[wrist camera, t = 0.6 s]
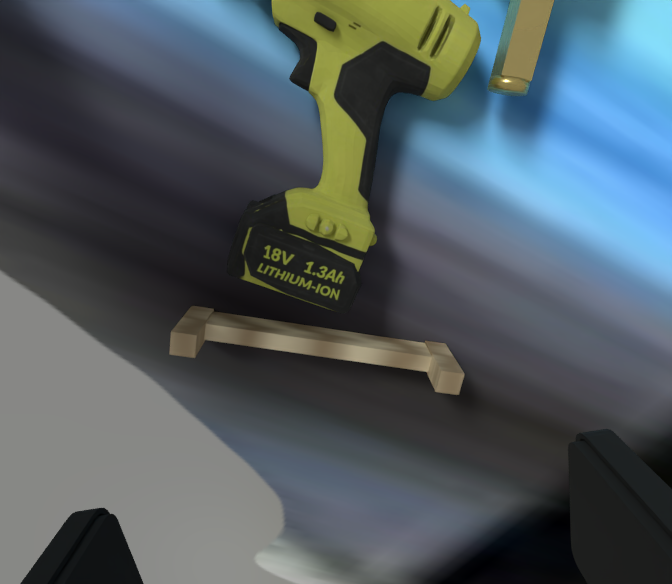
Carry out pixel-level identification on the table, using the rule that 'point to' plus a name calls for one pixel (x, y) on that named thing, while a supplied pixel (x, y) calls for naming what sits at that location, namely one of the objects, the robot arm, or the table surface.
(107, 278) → the table surface
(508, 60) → the brass capped square peg
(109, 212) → the table surface
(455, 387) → the rail
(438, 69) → the cordless drill
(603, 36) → the table surface
